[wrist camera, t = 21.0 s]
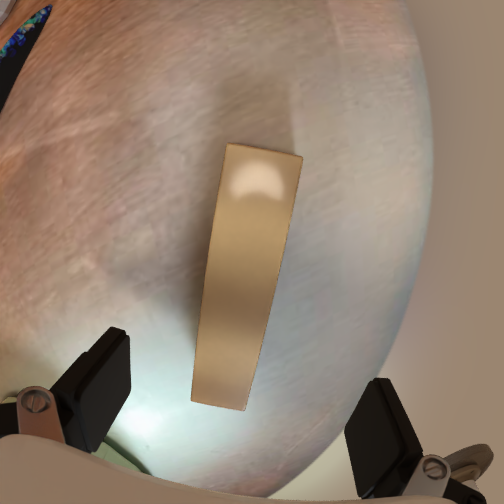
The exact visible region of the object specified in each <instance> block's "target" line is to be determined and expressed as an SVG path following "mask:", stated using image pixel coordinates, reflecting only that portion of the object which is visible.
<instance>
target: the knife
mask: <svg viewBox="0 0 504 504" xmlns="http://www.w3.org/2000/svg"><path fill="white" fill-rule="evenodd" d="M52 7H53V6H52V5H51V4H50V5H48V6H46V7H45V8H43V9H41V10H40V11H38V12H37V13H36V14H34V15H33V16H32V17H31V18H30V19H29V20H27V21H26V22H25V23H24V24H23V25H22V26H21V27H20V28H19V29H18V30H17V31H16V32H15V33H14V35H13V36H12V37H11V38H10V39H9V40H8V42H7V43H6V44H5V46H4V47H3V48H2V49H1V51H0V113H1V110H2V108H3V106H4V104H5V101H6V99H7V97H8V95H9V92H10V90H11V88H12V86H13V84H14V82H15V80H16V78H17V76H18V74H19V72H20V70H21V68H22V66H23V64H24V62H25V60H26V58H27V57H28V55H29V53H30V51H31V49H32V47H33V46H34V44H35V42H36V40H37V39H38V37H39V35H40V33H41V31H42V29H43V27H44V25H45V23H46V21H47V19H48V17H49V15H50V12H51V10H52Z"/></svg>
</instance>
